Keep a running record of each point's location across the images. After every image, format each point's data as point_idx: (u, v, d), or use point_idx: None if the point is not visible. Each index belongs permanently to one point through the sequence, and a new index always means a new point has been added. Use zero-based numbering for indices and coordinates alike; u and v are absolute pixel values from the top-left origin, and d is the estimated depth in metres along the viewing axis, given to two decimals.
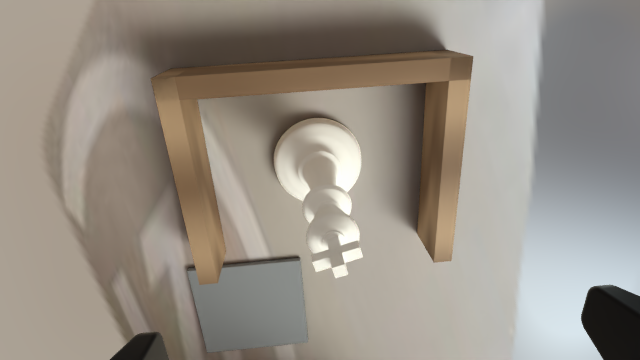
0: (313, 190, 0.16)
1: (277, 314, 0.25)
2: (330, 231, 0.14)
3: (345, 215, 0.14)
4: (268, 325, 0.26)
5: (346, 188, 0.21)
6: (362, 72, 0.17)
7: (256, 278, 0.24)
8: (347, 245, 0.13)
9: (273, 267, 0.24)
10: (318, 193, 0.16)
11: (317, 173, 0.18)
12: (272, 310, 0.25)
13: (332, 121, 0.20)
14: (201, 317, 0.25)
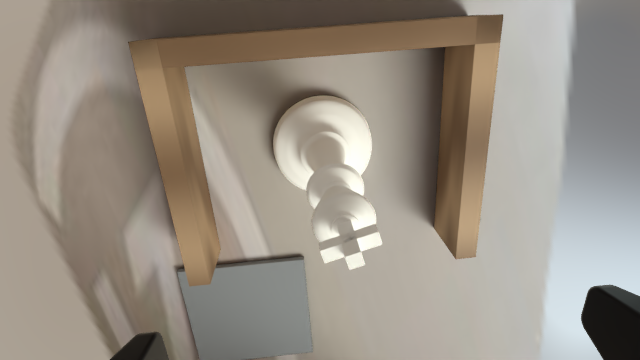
0: (319, 170, 0.13)
1: (278, 320, 0.23)
2: (341, 214, 0.11)
3: (359, 195, 0.11)
4: (268, 333, 0.23)
5: None
6: (374, 34, 0.14)
7: (254, 280, 0.21)
8: (363, 230, 0.11)
9: (273, 267, 0.21)
10: (325, 173, 0.13)
11: (323, 154, 0.16)
12: (273, 316, 0.23)
13: (339, 99, 0.18)
14: (193, 324, 0.22)
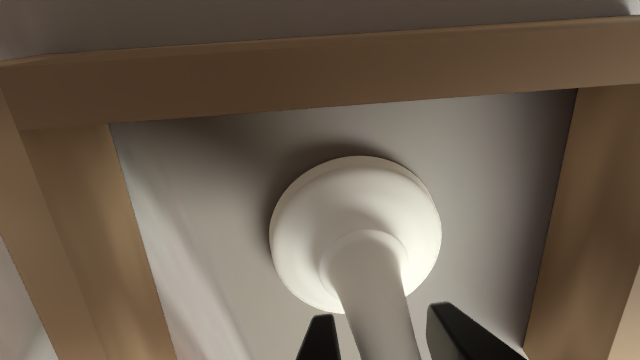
0: None
1: None
2: None
3: None
4: None
5: (410, 289, 0.11)
6: (495, 56, 0.06)
7: None
8: None
9: None
10: None
11: (368, 294, 0.08)
12: None
13: (387, 163, 0.10)
14: None
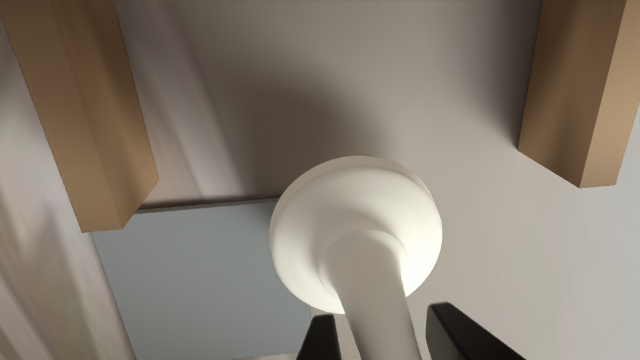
0: None
1: (259, 302, 0.14)
2: None
3: None
4: (243, 321, 0.15)
5: (410, 289, 0.11)
6: None
7: (218, 234, 0.13)
8: None
9: (249, 212, 0.13)
10: None
11: (369, 294, 0.08)
12: (251, 295, 0.14)
13: (387, 162, 0.10)
14: (122, 306, 0.14)
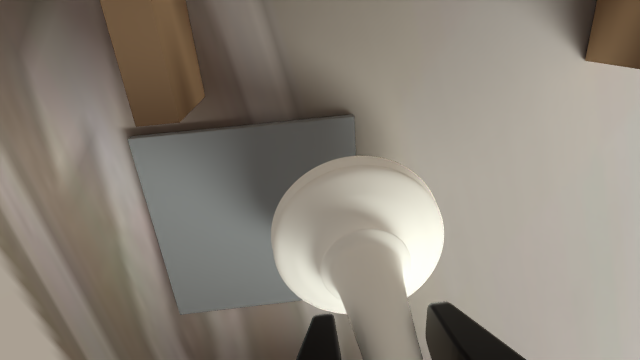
0: None
1: None
2: None
3: None
4: None
5: (412, 290, 0.11)
6: None
7: (267, 157, 0.12)
8: None
9: (300, 132, 0.12)
10: None
11: (370, 294, 0.08)
12: None
13: (389, 162, 0.10)
14: (163, 242, 0.13)
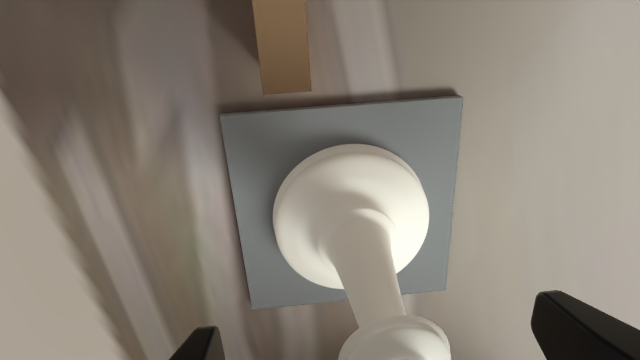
0: (369, 328, 0.07)
1: None
2: None
3: None
4: None
5: (398, 268, 0.12)
6: None
7: (365, 140, 0.11)
8: None
9: (404, 112, 0.11)
10: (381, 338, 0.07)
11: (362, 261, 0.09)
12: None
13: (383, 151, 0.11)
14: (244, 230, 0.12)
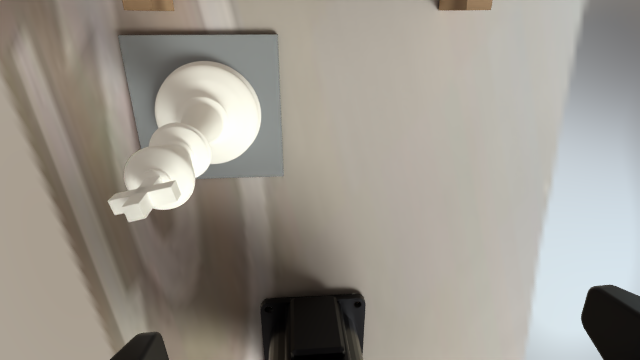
0: (161, 128, 0.13)
1: None
2: (150, 169, 0.11)
3: (174, 152, 0.11)
4: None
5: (239, 149, 0.18)
6: None
7: (215, 59, 0.17)
8: (160, 185, 0.10)
9: (239, 42, 0.17)
10: (166, 132, 0.13)
11: (188, 118, 0.15)
12: None
13: (226, 67, 0.17)
14: (138, 118, 0.18)
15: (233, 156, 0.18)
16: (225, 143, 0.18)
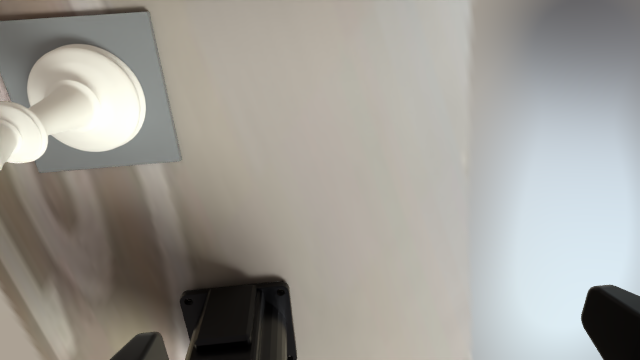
0: None
1: None
2: None
3: None
4: None
5: (123, 134, 0.18)
6: None
7: (87, 41, 0.17)
8: None
9: (108, 22, 0.17)
10: None
11: (40, 100, 0.14)
12: None
13: (98, 49, 0.17)
14: None
15: (118, 142, 0.18)
16: (105, 128, 0.17)
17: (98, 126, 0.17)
